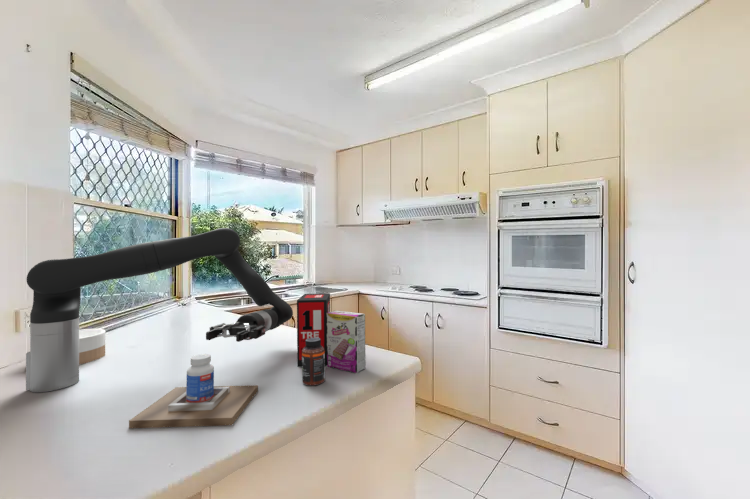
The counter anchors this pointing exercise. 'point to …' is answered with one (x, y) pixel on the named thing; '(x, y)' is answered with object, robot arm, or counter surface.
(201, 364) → the pill bottle
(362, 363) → the candy bar box
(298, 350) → the cleaning product box
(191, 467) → the counter surface
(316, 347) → the supplement bottle
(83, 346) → the bowl
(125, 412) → the counter surface
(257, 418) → the counter surface
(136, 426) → the walnut board
